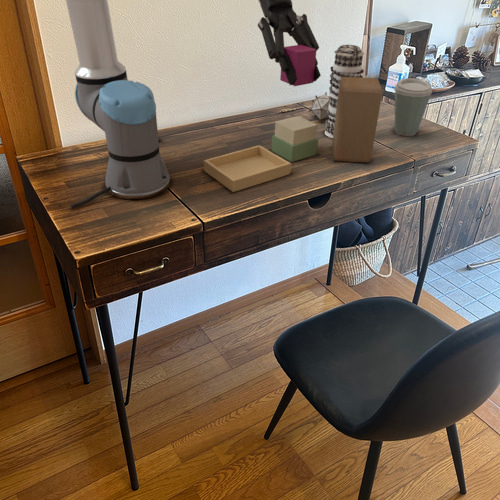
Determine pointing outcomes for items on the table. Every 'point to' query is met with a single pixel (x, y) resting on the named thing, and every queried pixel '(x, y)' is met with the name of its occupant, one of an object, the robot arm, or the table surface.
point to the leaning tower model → (344, 66)
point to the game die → (321, 106)
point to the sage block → (294, 149)
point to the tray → (246, 168)
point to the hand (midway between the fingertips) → (305, 80)
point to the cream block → (295, 130)
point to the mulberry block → (301, 64)
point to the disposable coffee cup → (410, 105)
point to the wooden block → (356, 119)
